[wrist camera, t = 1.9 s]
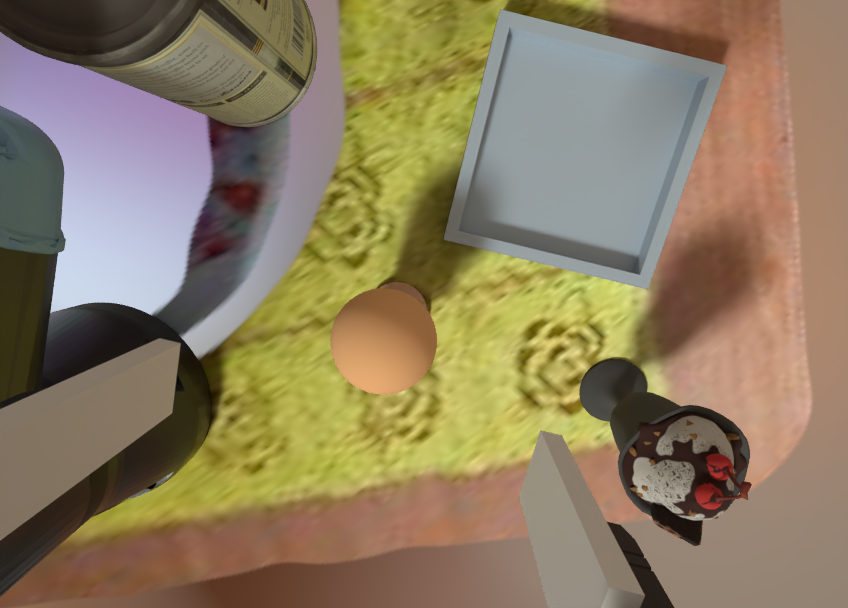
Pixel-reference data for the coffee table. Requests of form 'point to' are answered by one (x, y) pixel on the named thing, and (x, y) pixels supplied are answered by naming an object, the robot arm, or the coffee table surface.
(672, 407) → the sundae
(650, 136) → the tray
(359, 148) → the coffee table surface
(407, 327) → the ball
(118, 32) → the coffee can
